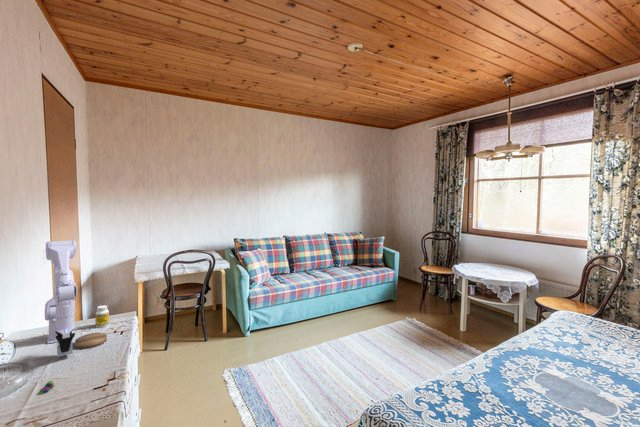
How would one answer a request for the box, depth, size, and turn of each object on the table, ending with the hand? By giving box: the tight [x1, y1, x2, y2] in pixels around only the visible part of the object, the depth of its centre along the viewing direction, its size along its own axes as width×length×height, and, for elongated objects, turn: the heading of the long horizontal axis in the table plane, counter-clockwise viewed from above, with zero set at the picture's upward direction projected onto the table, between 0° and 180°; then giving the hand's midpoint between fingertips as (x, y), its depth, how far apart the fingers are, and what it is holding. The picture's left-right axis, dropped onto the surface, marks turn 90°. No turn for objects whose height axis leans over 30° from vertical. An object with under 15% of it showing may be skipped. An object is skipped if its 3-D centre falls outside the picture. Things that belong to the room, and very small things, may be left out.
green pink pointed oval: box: [36, 380, 55, 396], centre depth 96 cm, size 4×3×2 cm, turn 14°
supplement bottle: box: [95, 305, 110, 328], centre depth 145 cm, size 5×5×10 cm
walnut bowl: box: [74, 332, 107, 350], centre depth 128 cm, size 11×11×2 cm
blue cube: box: [56, 340, 74, 358], centre depth 116 cm, size 4×4×4 cm
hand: (64, 349), depth 116 cm, fingers closed on blue cube, 4 cm apart
